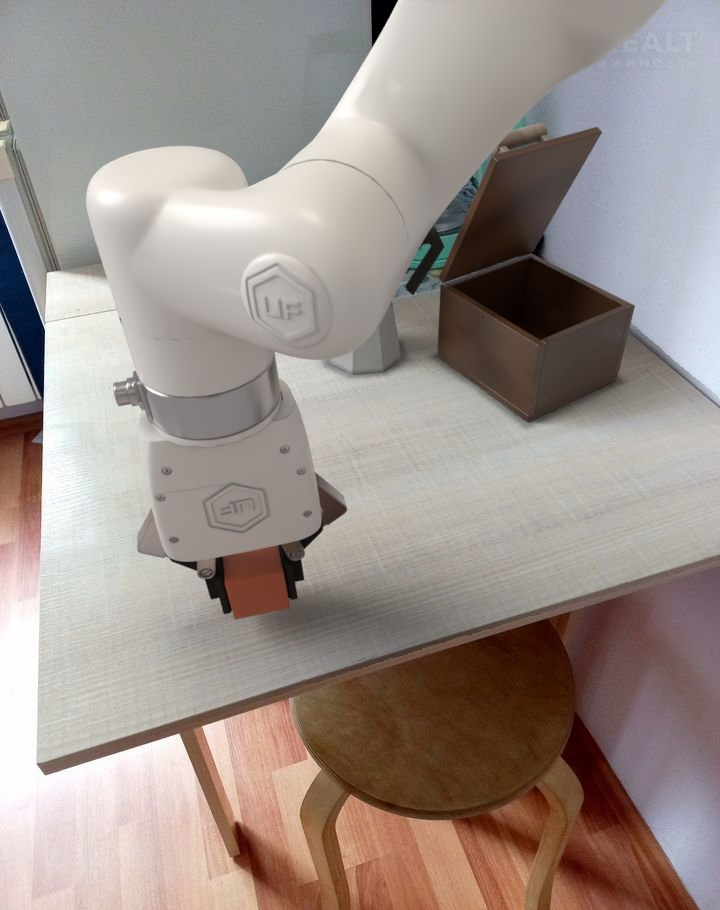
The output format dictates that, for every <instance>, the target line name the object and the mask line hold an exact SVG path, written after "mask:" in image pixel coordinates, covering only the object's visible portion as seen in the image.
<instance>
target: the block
mask: <svg viewBox="0 0 720 910" xmlns="http://www.w3.org/2000/svg"><path fill="white" fill-rule="evenodd" d="M223 566H224V580H225V586H226V590H227V594H228V597H229V601H230V605H231V608H232V611H231V613H232V615H233V619H234V620H240V619H245V618H251V617H254V616H258V615H263V614H268V613H273V612H277V611H283V610H287V609H290V608H291V603H290V599H289V598H288V593H287V588H286V582H285V577H284V572H283V566H282V564H281V559H280V553H279V548H278V545H276V546H272V547H267V548H262V549H257V550H253V551H248V552H243V553H238V554H232V555H227V556H223Z"/></svg>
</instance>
